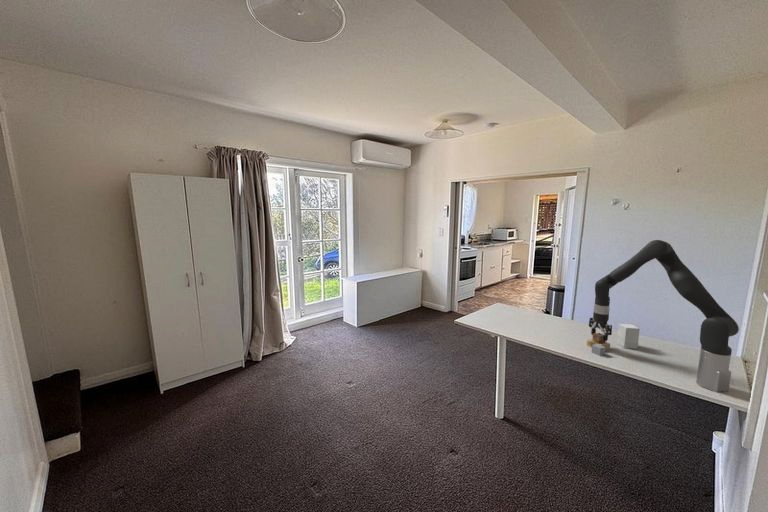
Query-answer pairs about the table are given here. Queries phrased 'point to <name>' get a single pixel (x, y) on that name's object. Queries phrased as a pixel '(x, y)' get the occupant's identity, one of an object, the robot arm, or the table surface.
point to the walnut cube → (598, 338)
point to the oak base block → (607, 345)
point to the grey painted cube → (598, 349)
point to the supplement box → (628, 336)
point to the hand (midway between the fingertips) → (598, 337)
